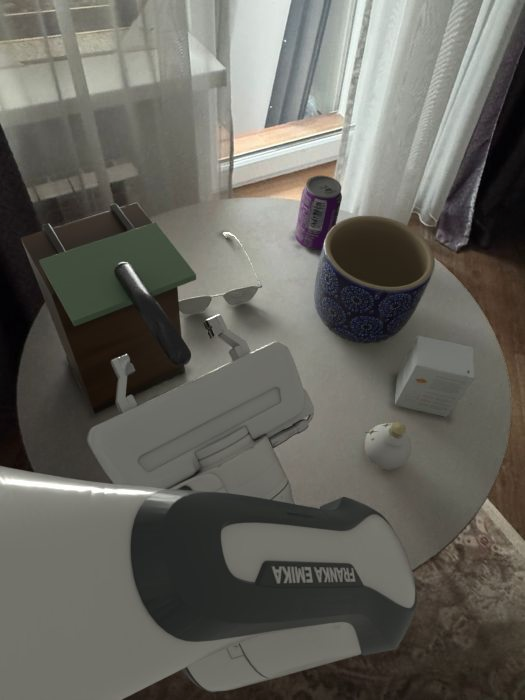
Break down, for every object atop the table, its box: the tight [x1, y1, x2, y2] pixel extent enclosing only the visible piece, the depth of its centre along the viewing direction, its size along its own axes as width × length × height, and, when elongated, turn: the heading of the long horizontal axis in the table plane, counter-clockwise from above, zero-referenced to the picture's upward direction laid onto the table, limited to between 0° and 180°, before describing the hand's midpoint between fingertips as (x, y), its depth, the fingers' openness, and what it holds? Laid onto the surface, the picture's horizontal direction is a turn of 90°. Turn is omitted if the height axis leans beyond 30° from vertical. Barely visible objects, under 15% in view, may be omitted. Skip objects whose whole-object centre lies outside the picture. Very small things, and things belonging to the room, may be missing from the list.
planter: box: [313, 215, 436, 344], centre depth 80 cm, size 16×17×15 cm
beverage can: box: [294, 175, 343, 250], centre depth 92 cm, size 7×7×12 cm
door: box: [39, 222, 197, 366], centre depth 50 cm, size 20×13×3 cm, turn 33°
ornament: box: [364, 421, 412, 470], centre depth 66 cm, size 6×7×10 cm
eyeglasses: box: [178, 231, 263, 315], centre depth 87 cm, size 15×18×4 cm
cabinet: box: [20, 202, 186, 415], centre depth 66 cm, size 10×14×25 cm
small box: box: [394, 335, 475, 418], centre depth 72 cm, size 8×6×10 cm
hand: (166, 336), depth 47 cm, fingers open, 8 cm apart
